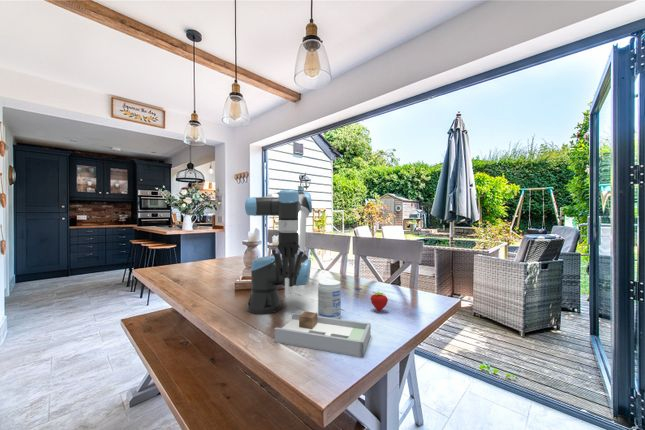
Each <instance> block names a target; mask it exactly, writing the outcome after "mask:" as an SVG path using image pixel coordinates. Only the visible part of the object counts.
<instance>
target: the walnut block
mask: <svg viewBox="0 0 645 430" xmlns="http://www.w3.org/2000/svg"><path fill="white" fill-rule="evenodd" d="M300 314H301V315H300V316H299V327H301V328H307V329H313V328H314V327H315V325H316V324H317V316H318V312H312V311H306V310H305V311H303V312H302V313H300Z"/></svg>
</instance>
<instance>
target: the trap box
mask: <svg viewBox="0 0 645 430" xmlns="http://www.w3.org/2000/svg"><path fill="white" fill-rule="evenodd" d="M301 314H302V313H297V312H296V313H295V312H292V314H291V319H290V320H289V321H288V322H287V323H286V324H285V325H283V327H275V328H274V343H279V344H286V345H290V346H297V347H303V348H307V349H313V350H314V349H315V350H319V351H324V352H331V353H336V354H342V355H348V356H351V357H359V358H364V355H365V353H366V351H367V350H366V349H367V347H368V344H369V341H370V338H371V332H372V331H371V326H372V325H371V323H370V322H364V321H356V320H347V319H342V318H339V319H335V318H327V317H320V316H318V315H317V324H316V325H315V327H314V328H313V329H307V328H301V327H299V316H300V315H301Z"/></svg>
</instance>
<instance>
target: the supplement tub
mask: <svg viewBox="0 0 645 430" xmlns="http://www.w3.org/2000/svg"><path fill="white" fill-rule="evenodd" d="M341 292H342V286H341V281H339V280H336V279H321V280H319V281H318V288H317V316H320V317H327V318H335V319H341V312H342V311H341V309H342V307H341V305H342V303H341V301H342V298H341V297H342V296H341V295H342V293H341Z"/></svg>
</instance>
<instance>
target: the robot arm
mask: <svg viewBox="0 0 645 430" xmlns="http://www.w3.org/2000/svg"><path fill="white" fill-rule="evenodd" d="M312 204H313V203H312V196H311V193H310V192H308V191H298V190H294V189H286V190H285V189H282V190H279V191H278V192H274V193H270V194H268V195H265V196H259V197H257V196H256V197H255V196H253V197H251V196H250V197H247V198H246V199H245V203H244V210H245V214H246V215H247V216H253V217H257V216H259V217H260V216H261V217H262V216H263V217H264V216H269V217H270V216H271V217H272V216H273V217H274V216H276V217H278V219H277V220H278V221H277V223H278V226H277V227H278V231H279V232H277V233H278V234H277V236H278V237H277V239H278V241H277V242H278V244H277V248H275V249H272V250H271V252H272V255H267V256H263V257H262V256H261V257H258V258H255V259H253V260H252V262H251V267H250V268H251V270H250V271H251V274H250V275H251V278H250V279H251V282H250V283H251V285H250V286H251V288H250V289H251V290H250V291H251V292H250V296H249V299H248V301H247V305H246V309H247V311H248V312H249V313H251V314H255V315H266V314H273V313H276V312H278V311H279V310H281V309H282V300H281V297H280V295H279V292H278V286H282V287H284V296H285V297H290V296H291V295H292V293H293V290H292V289H293V287H294V286H296V287H299V286H306V285H307V284H308V283H309V281H310V280H309V279H310V275H311V268H312V267H311V265H312V261H311V259H310V258H309V257H308V255H307V254H306V239H307V237H306V236H307V235H306V233H307V219H308V217H309V216H310V214H311V213H312V212H313V205H312Z"/></svg>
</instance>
